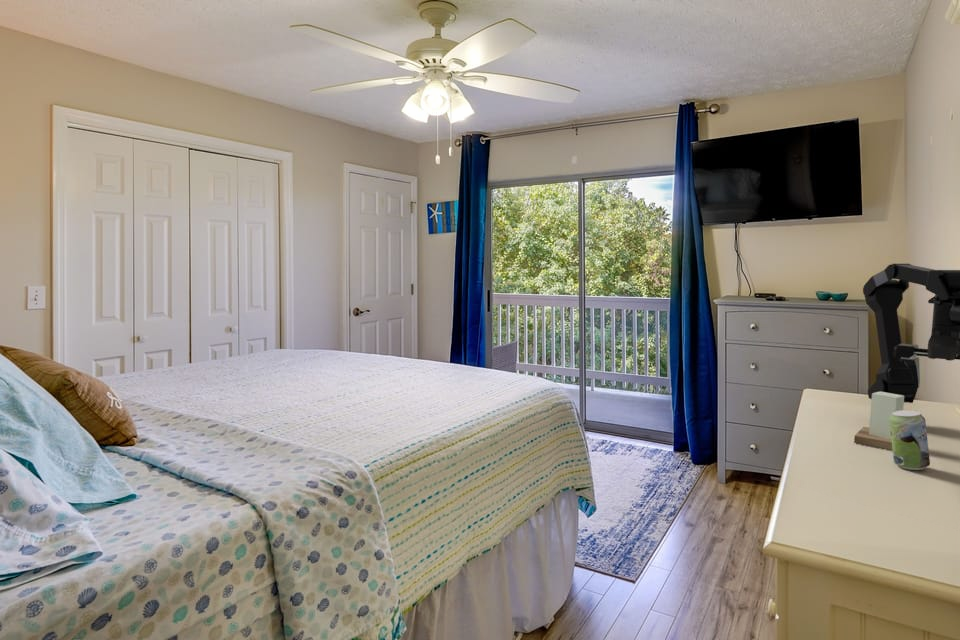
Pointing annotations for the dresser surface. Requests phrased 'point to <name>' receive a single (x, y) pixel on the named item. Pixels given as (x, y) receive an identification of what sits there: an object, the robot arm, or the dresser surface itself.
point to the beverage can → (909, 439)
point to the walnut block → (872, 440)
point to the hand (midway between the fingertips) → (942, 391)
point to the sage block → (883, 412)
